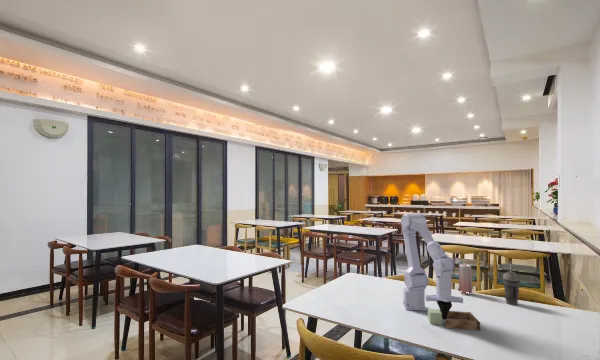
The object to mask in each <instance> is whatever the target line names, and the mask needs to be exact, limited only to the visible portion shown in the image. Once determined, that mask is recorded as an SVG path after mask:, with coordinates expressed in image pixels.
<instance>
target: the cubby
mask: <svg viewBox="0 0 600 360" xmlns="http://www.w3.org/2000/svg"><path fill="white" fill-rule="evenodd" d="M440 312H441V311H440ZM444 321H445V323H444V325H445V328H446V329H456V330H459V329H460V330H471V331H472V330H473V331H481V321H479V319H477V318H476V317H475V316H474V314H473V313H472V312H470V311H456V310H449V312H448V315H447V319H445V320H444Z"/></svg>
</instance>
